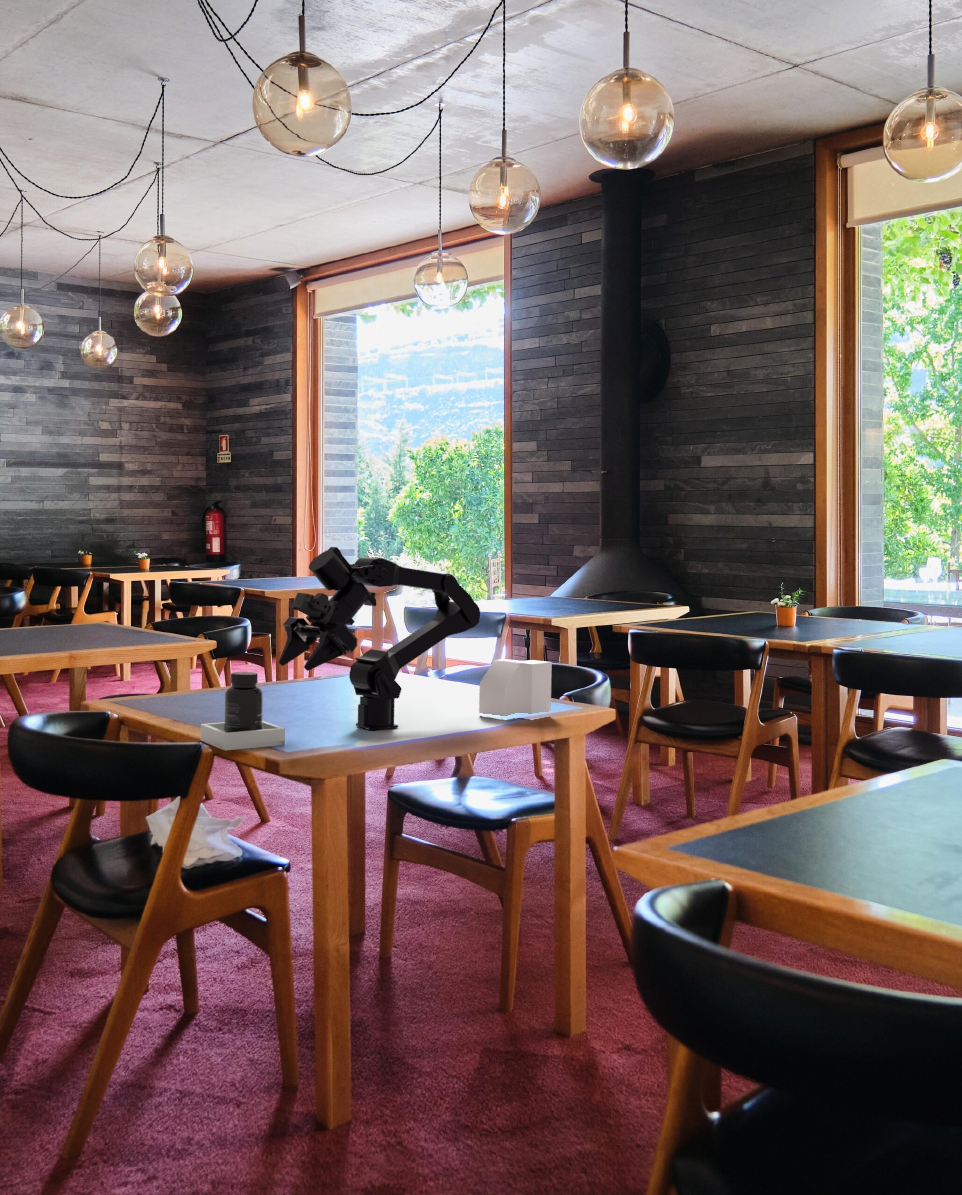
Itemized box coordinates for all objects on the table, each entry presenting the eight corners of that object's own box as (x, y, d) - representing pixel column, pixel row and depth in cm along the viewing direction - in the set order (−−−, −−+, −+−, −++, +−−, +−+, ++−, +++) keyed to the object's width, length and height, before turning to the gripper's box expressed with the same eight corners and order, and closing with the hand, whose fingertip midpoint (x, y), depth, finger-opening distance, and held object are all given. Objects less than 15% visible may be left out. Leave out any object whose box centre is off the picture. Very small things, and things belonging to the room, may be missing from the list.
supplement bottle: (267, 739, 208) (268, 674, 207) (231, 742, 204) (231, 676, 204) (254, 733, 214) (255, 670, 213) (219, 736, 210) (220, 671, 209)
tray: (258, 735, 217) (259, 719, 217) (284, 744, 207) (285, 728, 207) (200, 740, 210) (200, 724, 210) (224, 750, 201) (224, 733, 201)
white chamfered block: (550, 717, 246) (551, 662, 246) (517, 722, 238) (518, 665, 237) (512, 711, 253) (513, 657, 253) (479, 716, 245) (480, 661, 244)
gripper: (292, 576, 224) (241, 634, 218) (345, 580, 210) (292, 642, 204) (325, 614, 230) (277, 672, 223) (379, 621, 216) (329, 682, 209)
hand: (292, 666), depth 215 cm, fingers open, 9 cm apart
